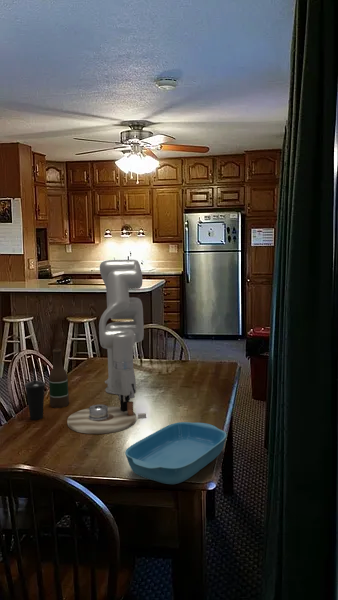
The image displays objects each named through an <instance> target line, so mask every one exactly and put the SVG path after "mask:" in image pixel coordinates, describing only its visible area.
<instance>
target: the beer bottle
mask: <svg viewBox="0 0 338 600" xmlns="http://www.w3.org/2000/svg"><path fill="white" fill-rule="evenodd" d="M62 352H63V351H62V349H61V348H54V349H52V354H53V355H52V356H53V357H52V369H51V370H50V373H49V376H48V387H49V389H48V390H49V403H50V407H51V408H54V409H62V408H65V407H68V406H69V403H70V402H69V401H70V398H69V397H70V396H69V379H68V373H67V371H66V370H65V369H64V366H63V359H62Z"/></svg>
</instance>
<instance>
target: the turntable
mask: <svg viewBox="0 0 338 600" xmlns="http://www.w3.org/2000/svg"><path fill="white" fill-rule="evenodd" d="M107 406H108V414H109V418H108V419H106V420H103V421H92V420H90V419H89V407H88V408H84V409H81V410H78V411H75V412H73V413H72V414H70V415H69V416H68V417H67V420H66V421H67V427H68V428H69V429H70V430H72V431H74V432H77V433H81V434H87V435H88V434H89V435H102V434H111V433H116V432H120V431H124V430H126V429H129V428H131V427H132V426H134V424H136V422H137V415H136V412H134V401H131V400H130V401H129V402H127V409H128V411H125V412H123V411H121V409H120V406H113V405H112V406H109V405H107Z"/></svg>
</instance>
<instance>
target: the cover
mask: <svg viewBox="0 0 338 600" xmlns="http://www.w3.org/2000/svg"><path fill="white" fill-rule="evenodd" d="M108 406H109V405H106V404H92V405H90V406H89V407H88V408H89V419H90V420H92V421H103V420H106V419H108V418H109V414H108Z"/></svg>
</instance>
